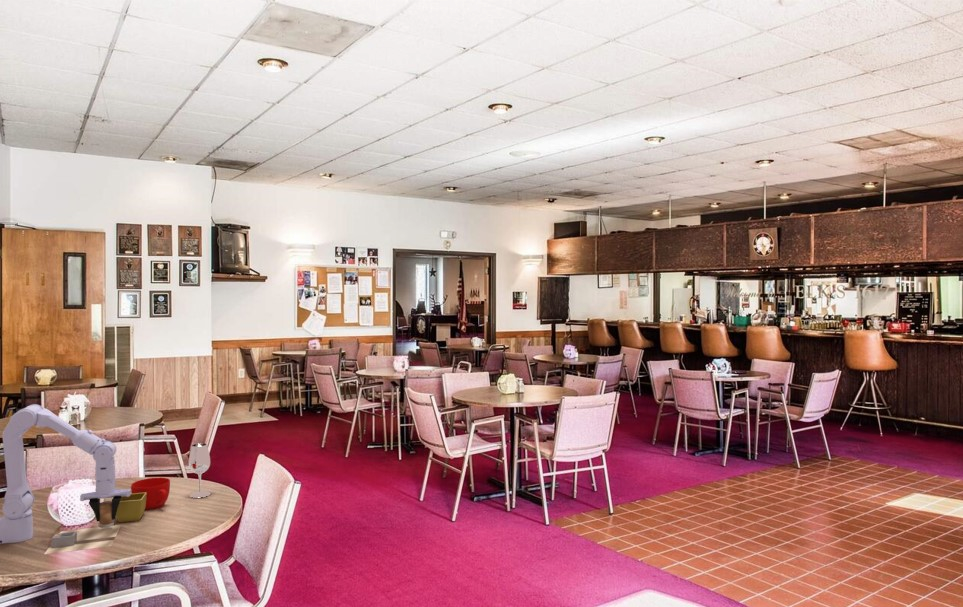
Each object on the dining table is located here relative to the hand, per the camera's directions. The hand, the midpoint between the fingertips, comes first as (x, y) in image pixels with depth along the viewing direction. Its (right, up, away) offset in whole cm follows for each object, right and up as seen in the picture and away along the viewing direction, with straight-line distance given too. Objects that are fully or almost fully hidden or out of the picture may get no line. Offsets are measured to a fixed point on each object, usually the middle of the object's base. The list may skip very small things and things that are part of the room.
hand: (106, 519), depth 223 cm
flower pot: (+3, -5, +11) cm, 12 cm away
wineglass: (+14, -4, +40) cm, 43 cm away
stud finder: (-6, -4, -13) cm, 15 cm away
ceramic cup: (+5, -4, +23) cm, 24 cm away
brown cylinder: (0, -2, 0) cm, 2 cm away
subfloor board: (-2, -5, -8) cm, 10 cm away
